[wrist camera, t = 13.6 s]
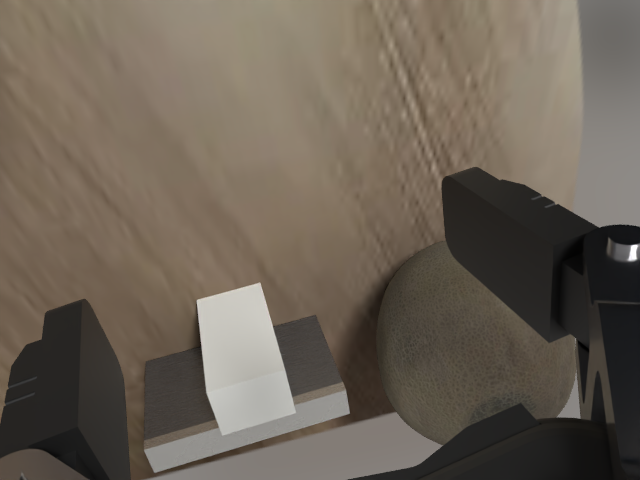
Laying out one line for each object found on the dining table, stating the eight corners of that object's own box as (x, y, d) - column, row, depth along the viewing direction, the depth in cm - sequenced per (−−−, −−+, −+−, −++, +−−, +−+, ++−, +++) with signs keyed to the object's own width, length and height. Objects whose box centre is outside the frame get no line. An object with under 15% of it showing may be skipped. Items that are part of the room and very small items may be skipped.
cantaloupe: (343, 226, 43) (421, 353, 30) (510, 196, 46) (647, 302, 33) (349, 364, 50) (415, 513, 38) (494, 331, 53) (600, 461, 40)
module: (209, 339, 45) (222, 435, 37) (196, 300, 43) (206, 392, 35) (270, 322, 46) (296, 412, 37) (260, 282, 44) (285, 369, 35)
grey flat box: (154, 383, 46) (154, 472, 38) (145, 361, 44) (143, 450, 37) (319, 336, 48) (349, 413, 40) (315, 315, 46) (346, 389, 39)
